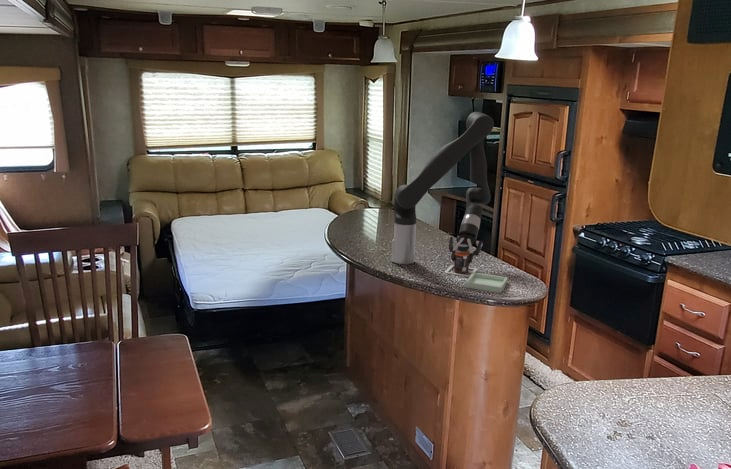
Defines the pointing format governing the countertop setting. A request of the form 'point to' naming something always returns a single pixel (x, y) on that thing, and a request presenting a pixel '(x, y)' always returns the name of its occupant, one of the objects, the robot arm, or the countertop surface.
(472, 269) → the mat frame
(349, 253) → the countertop surface
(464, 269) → the supplement bottle
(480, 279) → the tray
